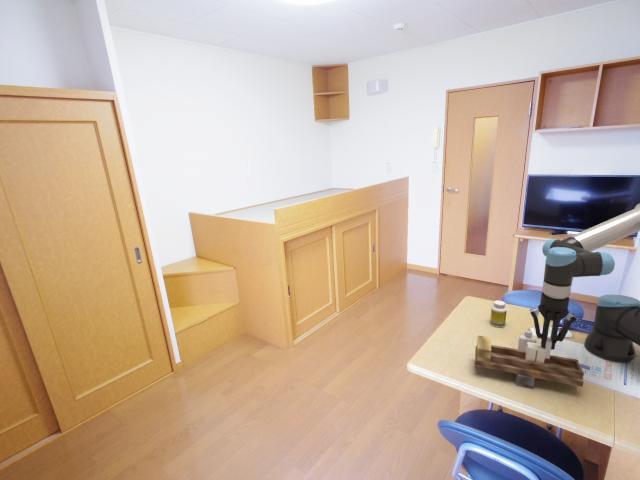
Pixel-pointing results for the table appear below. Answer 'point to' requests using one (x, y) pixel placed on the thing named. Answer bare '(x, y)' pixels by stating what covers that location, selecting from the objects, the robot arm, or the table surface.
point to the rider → (535, 352)
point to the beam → (527, 365)
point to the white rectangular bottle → (525, 339)
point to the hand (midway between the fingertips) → (546, 356)
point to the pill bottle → (498, 314)
